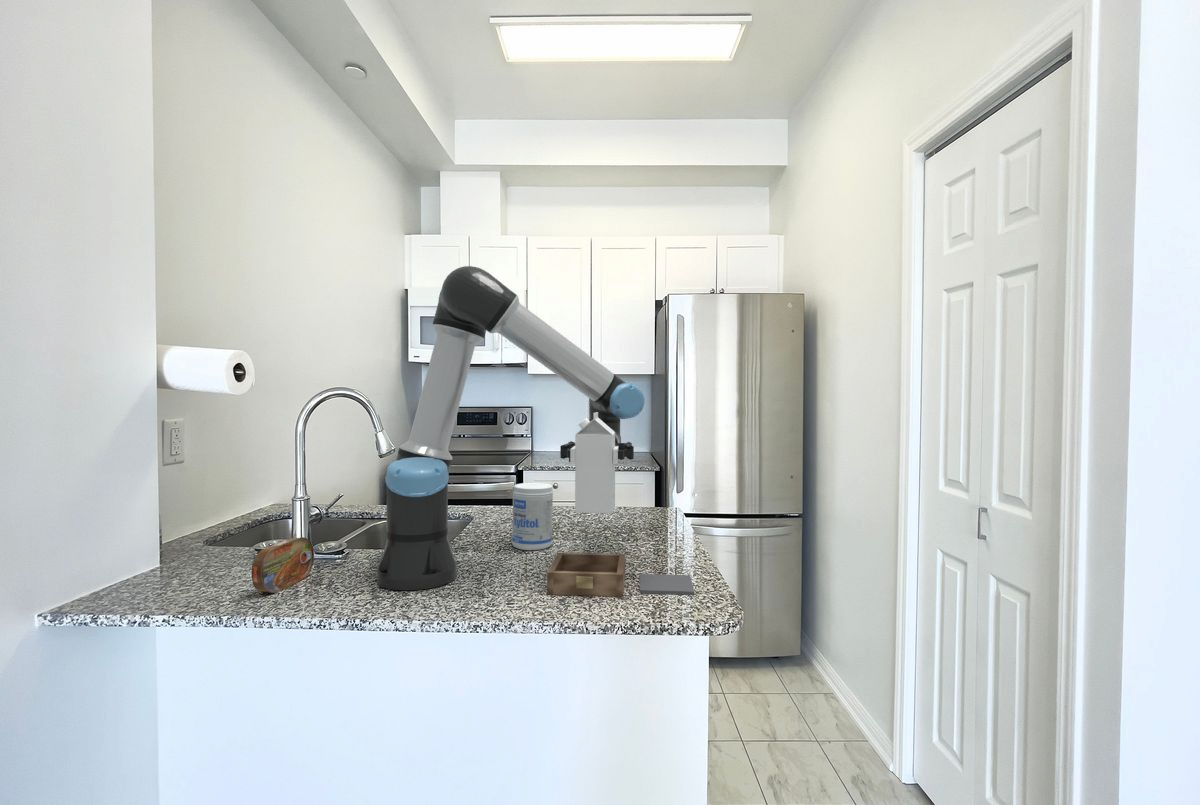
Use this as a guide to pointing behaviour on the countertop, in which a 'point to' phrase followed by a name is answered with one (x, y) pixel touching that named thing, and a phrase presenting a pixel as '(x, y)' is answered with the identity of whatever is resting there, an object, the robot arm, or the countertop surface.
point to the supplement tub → (532, 516)
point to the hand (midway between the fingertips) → (593, 456)
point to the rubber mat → (666, 584)
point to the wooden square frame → (587, 574)
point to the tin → (282, 565)
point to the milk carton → (594, 467)
